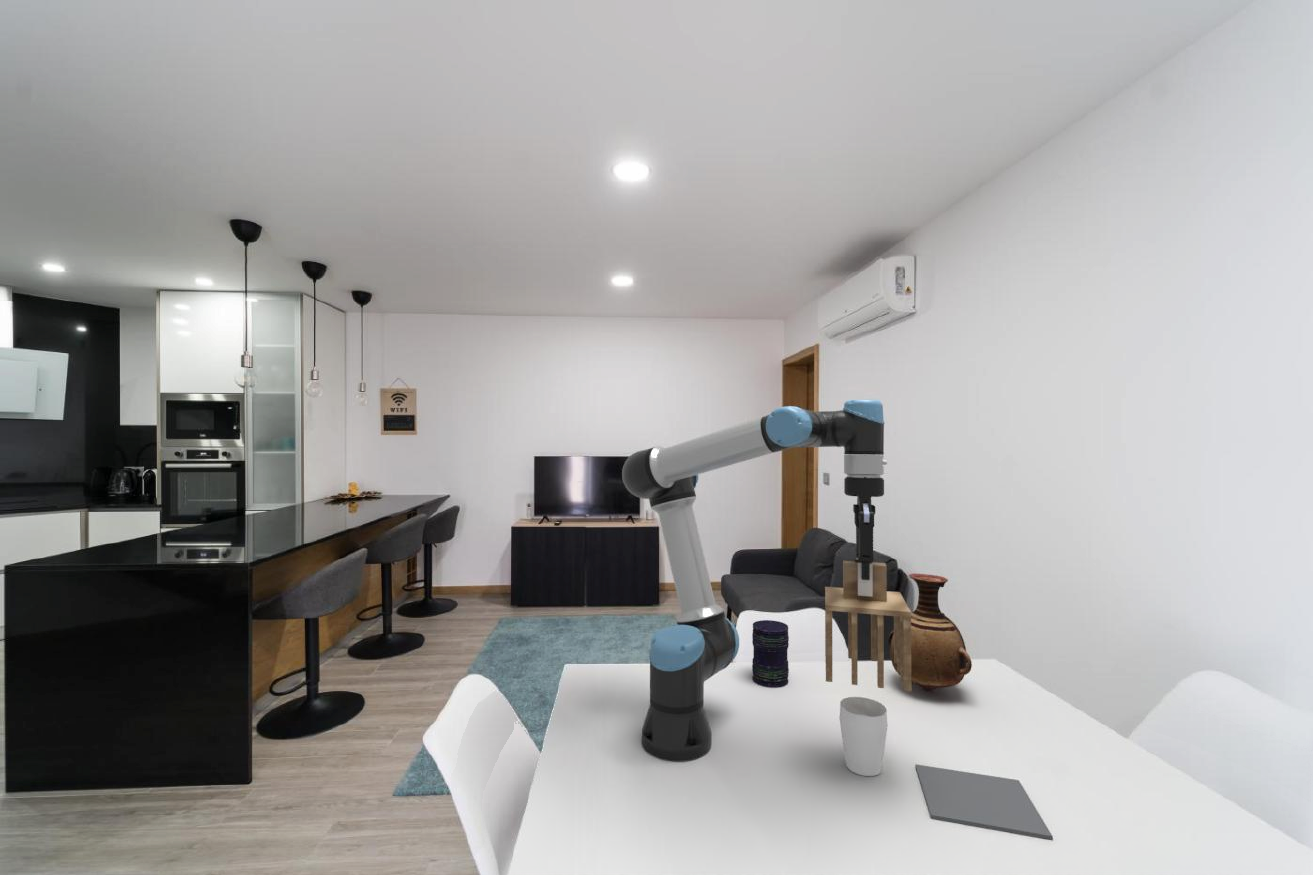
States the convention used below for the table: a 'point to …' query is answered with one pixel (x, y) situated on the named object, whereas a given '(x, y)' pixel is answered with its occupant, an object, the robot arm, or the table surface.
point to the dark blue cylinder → (770, 653)
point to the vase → (934, 640)
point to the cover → (877, 607)
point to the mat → (980, 801)
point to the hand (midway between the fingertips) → (864, 593)
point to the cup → (863, 734)
